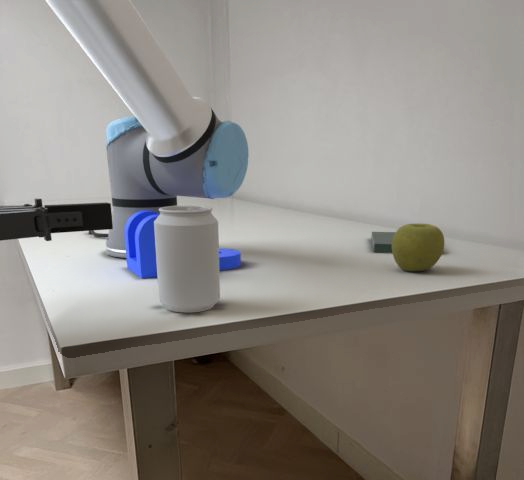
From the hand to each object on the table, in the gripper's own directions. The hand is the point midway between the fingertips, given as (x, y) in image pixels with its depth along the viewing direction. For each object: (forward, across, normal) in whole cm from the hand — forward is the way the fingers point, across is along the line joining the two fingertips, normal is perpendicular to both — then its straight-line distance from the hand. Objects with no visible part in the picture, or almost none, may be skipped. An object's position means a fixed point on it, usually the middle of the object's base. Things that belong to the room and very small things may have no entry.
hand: (109, 215), depth 60 cm
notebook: (+64, -19, -11) cm, 68 cm away
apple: (+49, -1, -11) cm, 50 cm away
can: (+9, 0, -12) cm, 15 cm away
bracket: (+19, -22, -12) cm, 31 cm away
